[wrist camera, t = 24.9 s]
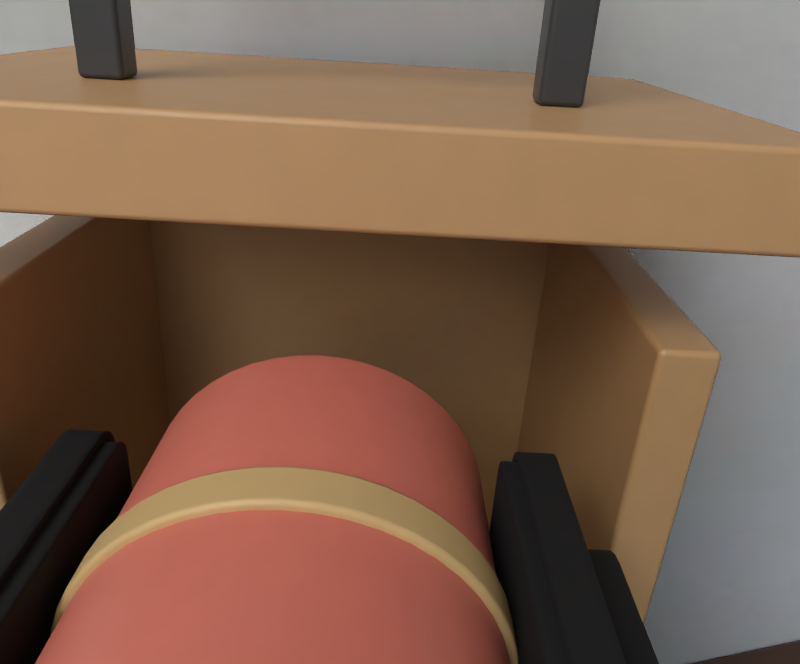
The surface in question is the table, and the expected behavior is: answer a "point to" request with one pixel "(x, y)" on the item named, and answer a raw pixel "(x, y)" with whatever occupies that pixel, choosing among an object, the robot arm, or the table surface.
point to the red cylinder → (296, 533)
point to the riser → (763, 656)
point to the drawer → (378, 249)
